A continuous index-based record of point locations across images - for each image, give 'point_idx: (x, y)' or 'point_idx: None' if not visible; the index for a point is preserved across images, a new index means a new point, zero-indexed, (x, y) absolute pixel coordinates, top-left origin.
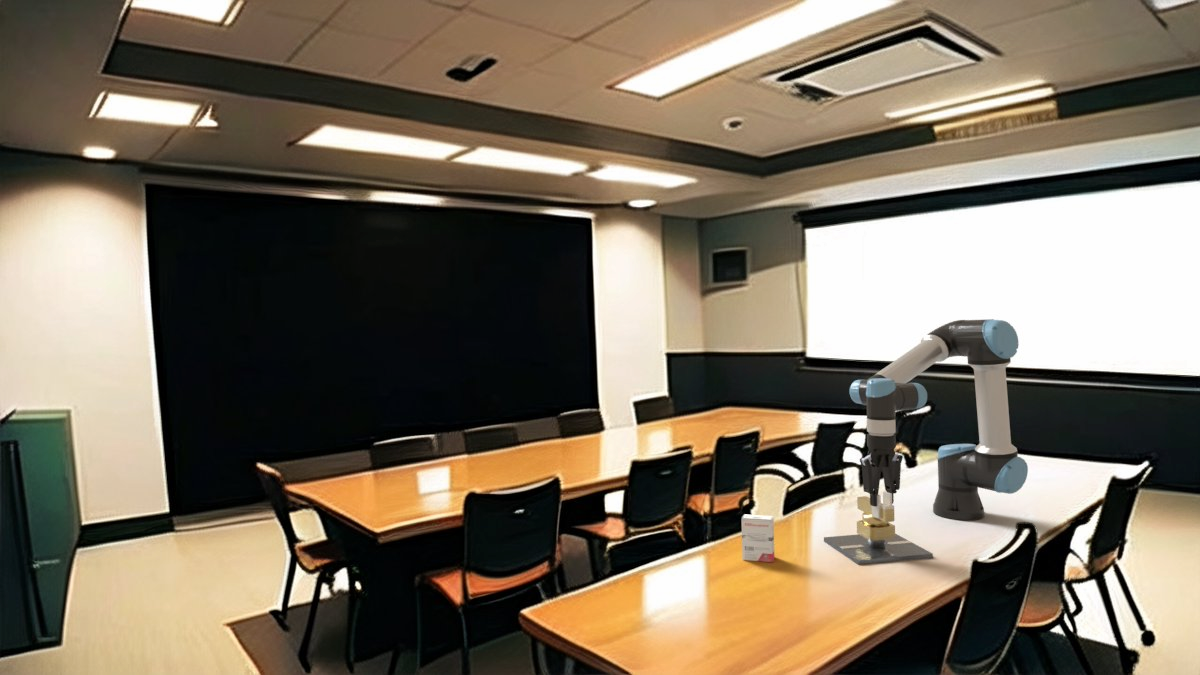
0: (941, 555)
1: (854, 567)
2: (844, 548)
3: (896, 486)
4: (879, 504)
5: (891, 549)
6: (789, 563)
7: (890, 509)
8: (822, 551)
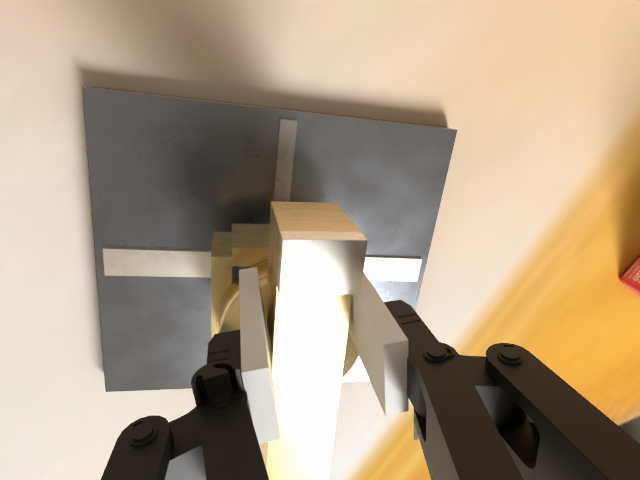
0: (20, 103)
1: (479, 107)
2: (417, 259)
3: (165, 445)
4: (370, 298)
5: (246, 201)
6: (624, 215)
7: (314, 229)
8: (462, 286)
